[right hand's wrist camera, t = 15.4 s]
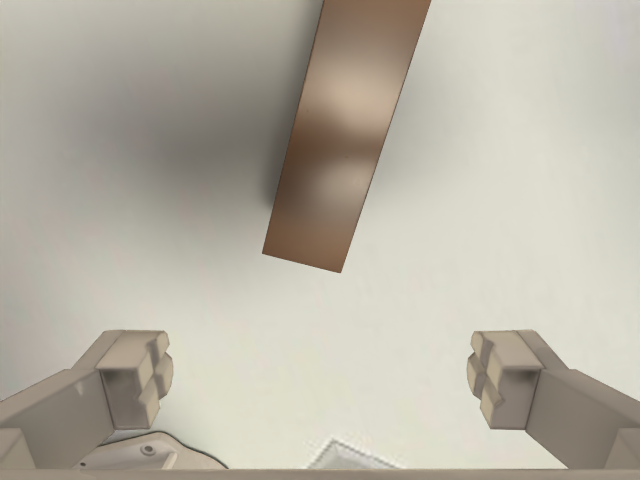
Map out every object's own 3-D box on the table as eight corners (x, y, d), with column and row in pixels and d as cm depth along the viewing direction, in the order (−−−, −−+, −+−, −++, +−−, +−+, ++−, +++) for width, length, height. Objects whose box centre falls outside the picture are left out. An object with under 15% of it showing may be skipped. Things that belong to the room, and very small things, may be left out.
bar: (335, 228, 34) (340, 274, 26) (275, 213, 34) (261, 253, 26) (450, -140, 25) (513, -246, 17) (370, -169, 25) (395, -294, 17)
